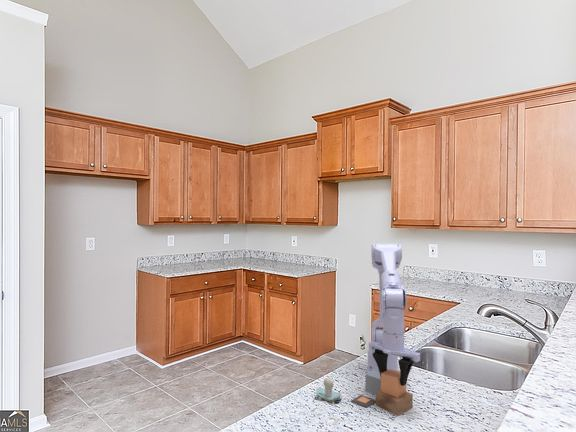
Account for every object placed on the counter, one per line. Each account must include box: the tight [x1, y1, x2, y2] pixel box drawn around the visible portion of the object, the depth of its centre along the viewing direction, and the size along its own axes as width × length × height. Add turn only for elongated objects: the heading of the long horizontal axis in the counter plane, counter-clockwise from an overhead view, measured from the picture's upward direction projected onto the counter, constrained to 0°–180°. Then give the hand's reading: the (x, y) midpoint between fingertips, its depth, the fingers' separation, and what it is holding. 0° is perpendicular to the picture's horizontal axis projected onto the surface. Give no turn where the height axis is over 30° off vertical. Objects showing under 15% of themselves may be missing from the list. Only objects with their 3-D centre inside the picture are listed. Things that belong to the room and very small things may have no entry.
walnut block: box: [375, 390, 414, 417], centre depth 99 cm, size 7×7×4 cm
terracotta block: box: [381, 369, 407, 398], centre depth 100 cm, size 5×5×5 cm
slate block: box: [364, 370, 381, 396], centre depth 109 cm, size 5×5×5 cm
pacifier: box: [315, 377, 342, 402], centre depth 104 cm, size 7×6×6 cm
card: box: [350, 394, 376, 409], centre depth 101 cm, size 5×5×1 cm
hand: (393, 381), depth 100 cm, fingers open, 5 cm apart
